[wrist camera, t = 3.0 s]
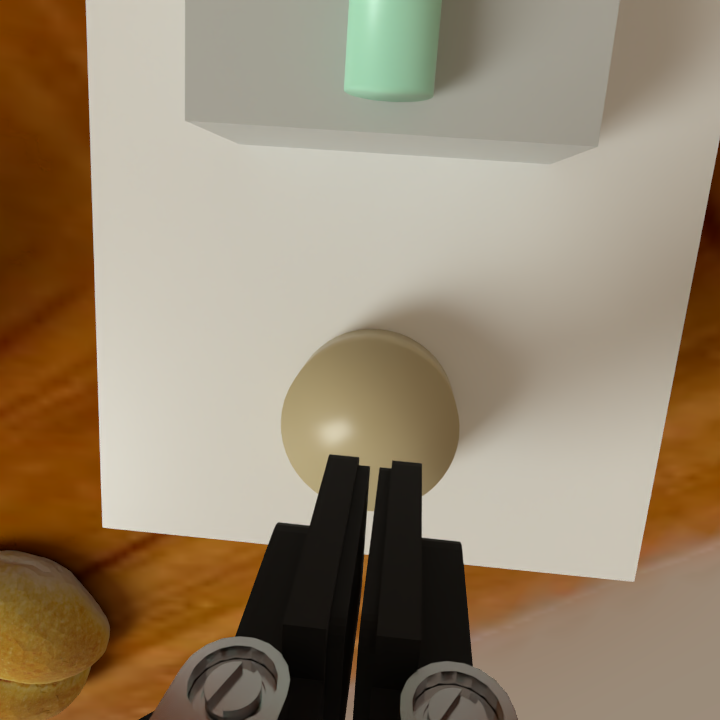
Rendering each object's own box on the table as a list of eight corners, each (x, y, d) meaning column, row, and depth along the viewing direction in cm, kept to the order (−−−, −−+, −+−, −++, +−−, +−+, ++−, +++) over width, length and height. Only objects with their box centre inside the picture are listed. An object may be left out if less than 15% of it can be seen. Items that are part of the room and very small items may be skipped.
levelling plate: (102, -355, 13) (-152, -833, 7) (784, -343, 12) (1138, -870, 6) (122, 507, 18) (-22, 653, 12) (618, 556, 17) (733, 740, 11)
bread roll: (138, 591, 28) (97, 665, 24) (73, 702, 31) (28, 781, 28) (-32, 507, 27) (-103, 571, 23) (-81, 631, 30) (-149, 705, 27)
